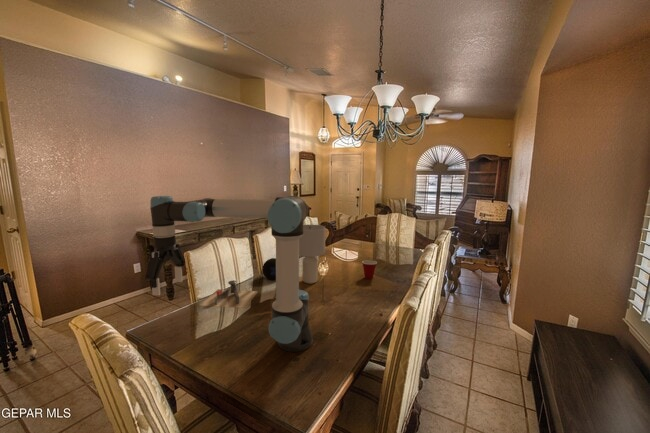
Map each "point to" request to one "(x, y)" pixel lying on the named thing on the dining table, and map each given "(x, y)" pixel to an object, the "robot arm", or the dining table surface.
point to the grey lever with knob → (234, 290)
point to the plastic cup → (369, 268)
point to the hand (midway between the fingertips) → (168, 287)
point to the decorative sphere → (270, 269)
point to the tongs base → (224, 295)
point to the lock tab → (219, 292)
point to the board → (231, 299)
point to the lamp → (311, 250)
